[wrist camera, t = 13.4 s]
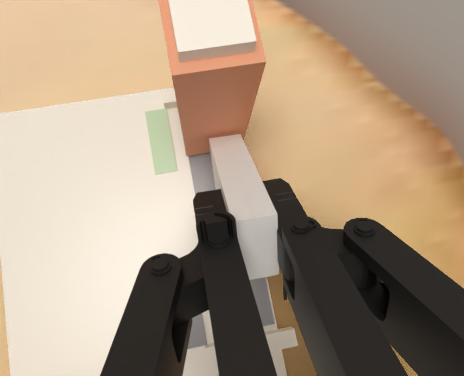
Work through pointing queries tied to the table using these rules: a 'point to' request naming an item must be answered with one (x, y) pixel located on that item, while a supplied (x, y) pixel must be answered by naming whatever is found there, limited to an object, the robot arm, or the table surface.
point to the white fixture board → (99, 229)
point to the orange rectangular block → (213, 66)
